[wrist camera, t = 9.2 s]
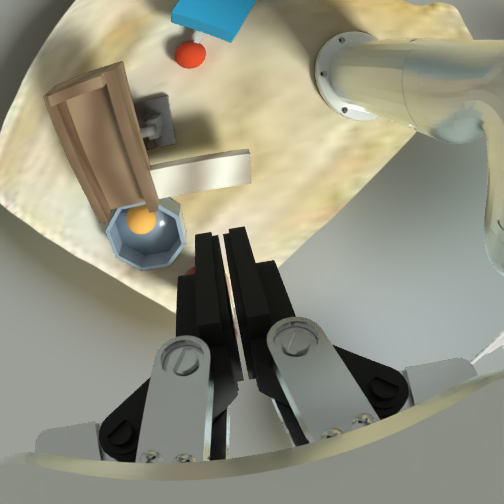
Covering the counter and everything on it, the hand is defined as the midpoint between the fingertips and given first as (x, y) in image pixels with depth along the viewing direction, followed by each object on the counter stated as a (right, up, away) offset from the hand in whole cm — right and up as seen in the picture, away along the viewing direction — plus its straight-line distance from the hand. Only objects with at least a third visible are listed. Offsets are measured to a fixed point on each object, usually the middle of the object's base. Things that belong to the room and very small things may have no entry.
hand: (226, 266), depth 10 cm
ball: (-13, +5, +24) cm, 28 cm away
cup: (-13, +4, +28) cm, 31 cm away
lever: (-3, +29, +13) cm, 32 cm away
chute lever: (-9, +13, +15) cm, 22 cm away
